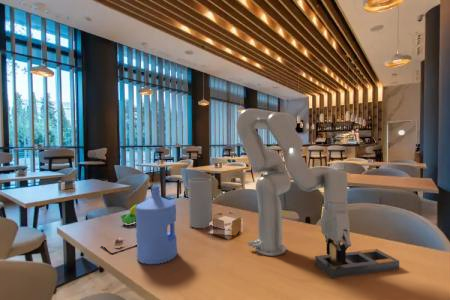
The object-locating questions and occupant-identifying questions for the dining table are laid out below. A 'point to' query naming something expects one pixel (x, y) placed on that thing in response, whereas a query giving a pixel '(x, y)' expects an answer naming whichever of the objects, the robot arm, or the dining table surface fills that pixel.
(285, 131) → the robot arm
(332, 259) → the brass peg
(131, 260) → the dining table surface
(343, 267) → the grey compartment tray
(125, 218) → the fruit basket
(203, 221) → the cylinder vase
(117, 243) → the dessert
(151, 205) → the water jug
